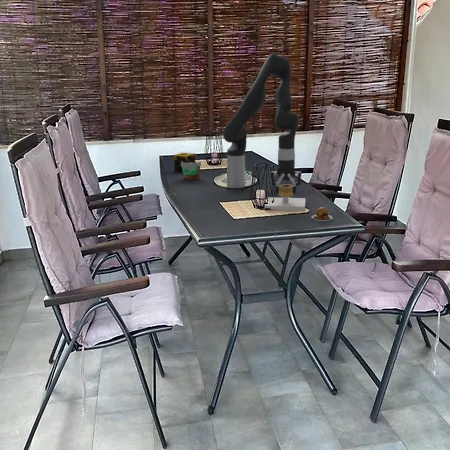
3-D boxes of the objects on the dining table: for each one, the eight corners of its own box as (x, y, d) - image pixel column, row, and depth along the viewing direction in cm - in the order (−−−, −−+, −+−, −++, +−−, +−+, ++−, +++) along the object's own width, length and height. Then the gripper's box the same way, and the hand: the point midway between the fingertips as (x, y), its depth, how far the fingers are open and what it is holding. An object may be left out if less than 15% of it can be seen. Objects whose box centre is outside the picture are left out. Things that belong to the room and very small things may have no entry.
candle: (196, 169, 316) (196, 153, 313) (187, 172, 308) (186, 156, 305) (183, 167, 321) (182, 152, 318) (173, 170, 313) (173, 154, 310)
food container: (177, 180, 288) (176, 163, 285) (182, 177, 294) (181, 160, 291) (197, 181, 284) (196, 164, 281) (201, 179, 289) (201, 162, 286)
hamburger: (317, 213, 223) (318, 202, 222) (341, 219, 215) (342, 206, 214) (302, 220, 215) (302, 208, 213) (326, 226, 207) (326, 213, 206)
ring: (278, 197, 230) (278, 187, 228) (279, 193, 236) (279, 184, 234) (292, 197, 229) (292, 187, 227) (293, 193, 235) (293, 184, 233)
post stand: (264, 210, 229) (264, 190, 226) (267, 201, 242) (267, 183, 239) (304, 210, 226) (305, 191, 223) (305, 202, 239) (305, 184, 236)
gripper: (269, 159, 224) (269, 195, 230) (302, 159, 222) (301, 196, 227) (270, 156, 231) (270, 191, 237) (302, 156, 229) (301, 192, 234)
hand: (285, 193), depth 232 cm, fingers closed on ring, 6 cm apart
